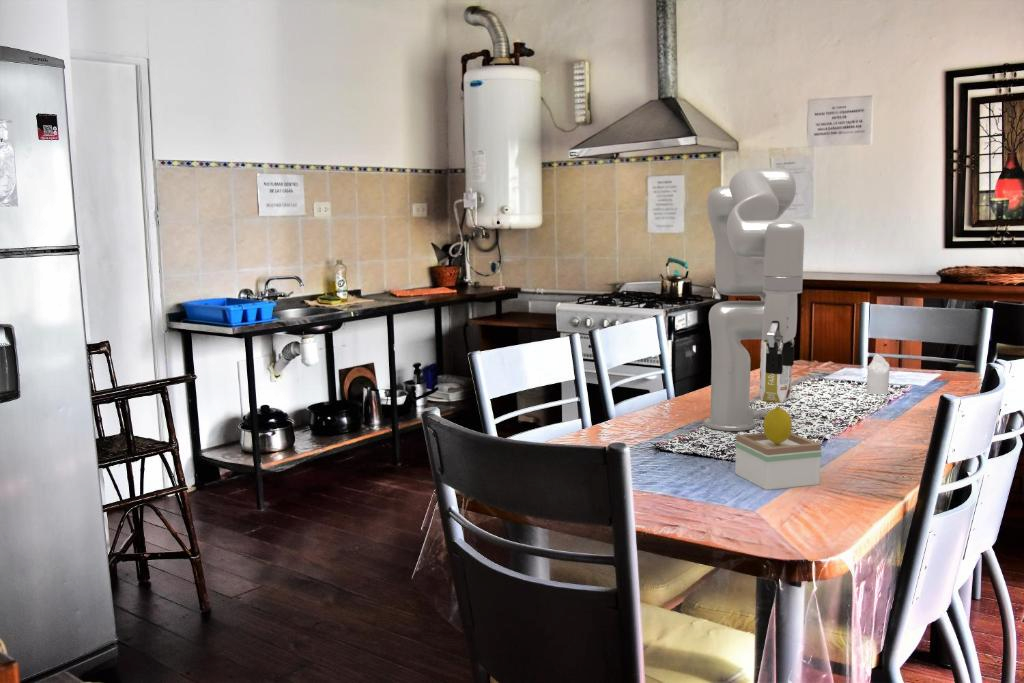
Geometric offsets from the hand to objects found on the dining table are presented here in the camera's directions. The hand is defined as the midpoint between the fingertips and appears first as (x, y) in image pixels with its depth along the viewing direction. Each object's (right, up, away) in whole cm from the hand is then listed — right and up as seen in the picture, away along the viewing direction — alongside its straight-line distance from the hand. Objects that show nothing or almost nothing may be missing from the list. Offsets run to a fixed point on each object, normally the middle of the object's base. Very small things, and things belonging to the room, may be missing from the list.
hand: (779, 369), depth 189 cm
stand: (0, -22, +2) cm, 23 cm away
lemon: (0, -16, +1) cm, 16 cm away
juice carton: (+21, -11, +78) cm, 82 cm away
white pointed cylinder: (+53, -10, +84) cm, 100 cm away
